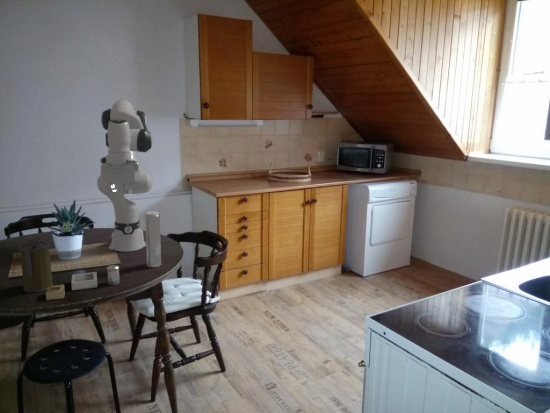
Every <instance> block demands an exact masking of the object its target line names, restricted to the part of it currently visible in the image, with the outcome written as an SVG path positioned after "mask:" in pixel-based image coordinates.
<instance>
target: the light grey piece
mask: <svg viewBox="0 0 550 413" xmlns="http://www.w3.org/2000/svg"><path fill="white" fill-rule="evenodd" d="M160 216H161V215H160V213H159V212H158V211H155V210H153V211H152V210H151V211H146V212H145V214H144V226H145V242H146V247H145V249H146V250H145V252H146V267H148V268H151V267H152V268H153V267H155V268H159V267H161V266H162V251H161V250H162V246H161V244H162V243H161V220H160V219H161V217H160ZM160 265H161V266H160ZM158 266H159V267H158Z"/></svg>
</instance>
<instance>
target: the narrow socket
mask: <svg viewBox="0 0 550 413" xmlns="http://www.w3.org/2000/svg"><path fill="white" fill-rule="evenodd" d="M65 289H66V288H65V284H59V285H53V286H49V287H47V290H45V297H46V301H51V300H60V299H64V298H65V296H66V290H65Z"/></svg>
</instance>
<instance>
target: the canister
mask: <svg viewBox="0 0 550 413" xmlns="http://www.w3.org/2000/svg"><path fill="white" fill-rule="evenodd" d="M18 250H19V257H20V264H21V266H20V267H21V272H22V273H21V274H22V281H23V282H22V283H23V291H24V292H27V293H39V292H43V291H46V290H47V287H49V286H54V282H53V275H52V267H51V266H52V265H51V264H52V263H51V256H50V243H49V242H47V241H43V240H42V241H41V240H40V237H37V236H36V237H35V236H34V237H33V236H32V237H31V238H29V239H27V242H25V243H23V244H21V245H18Z"/></svg>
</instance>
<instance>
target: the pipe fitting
mask: <svg viewBox="0 0 550 413" xmlns="http://www.w3.org/2000/svg"><path fill="white" fill-rule="evenodd" d="M106 271H107V282H108V283H107V284H108V285H109V286H115V285H119V284H120V281H121V280H120V279H121V278H120V265H119V264H110V265H108V266H107V267H106Z"/></svg>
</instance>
